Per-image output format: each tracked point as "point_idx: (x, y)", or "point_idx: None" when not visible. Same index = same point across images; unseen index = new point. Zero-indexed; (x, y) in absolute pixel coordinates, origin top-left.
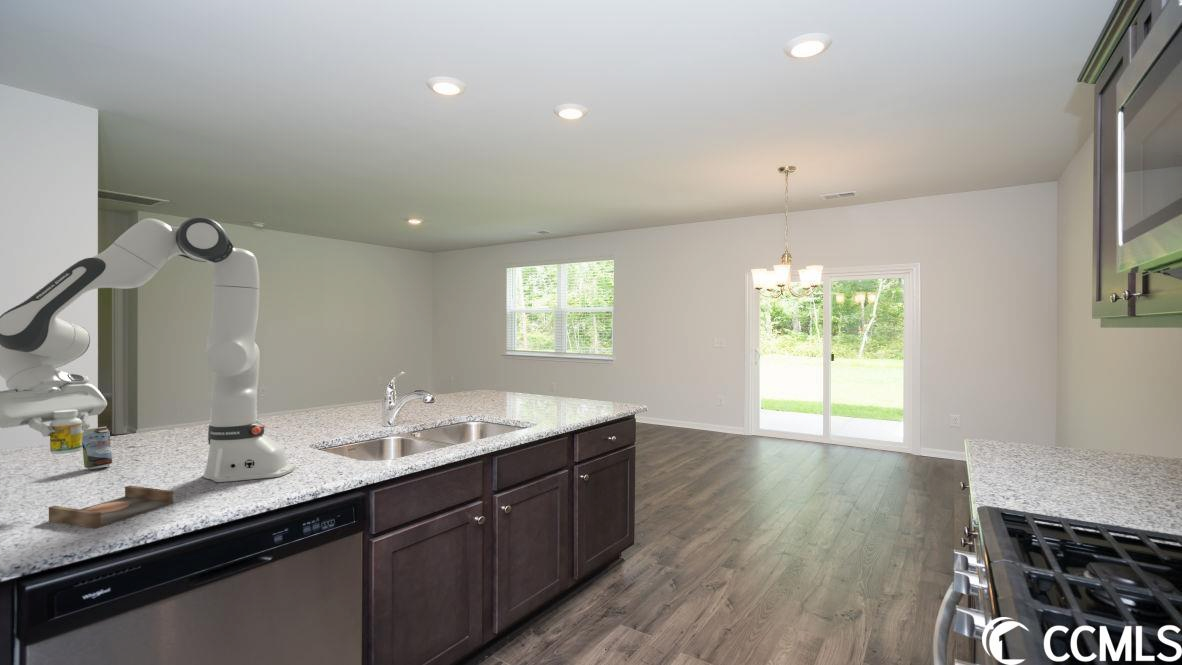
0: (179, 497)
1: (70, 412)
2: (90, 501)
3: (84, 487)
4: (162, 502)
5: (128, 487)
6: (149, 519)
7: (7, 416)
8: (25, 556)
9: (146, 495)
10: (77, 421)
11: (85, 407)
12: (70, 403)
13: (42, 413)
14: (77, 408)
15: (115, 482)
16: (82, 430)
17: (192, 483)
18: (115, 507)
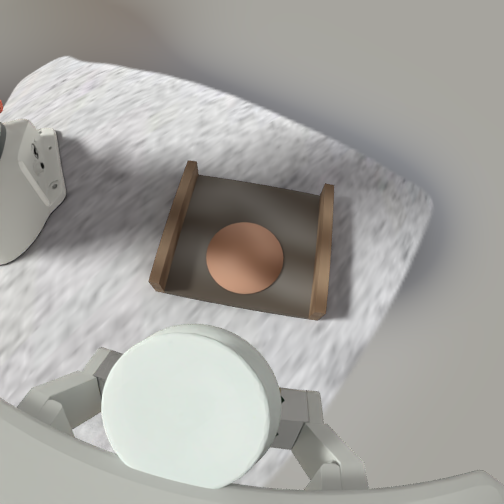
0: (152, 193)
1: (208, 338)
2: None
3: None
4: (199, 184)
5: (161, 272)
6: (272, 156)
7: (493, 480)
8: (420, 204)
9: (180, 223)
10: (184, 324)
11: (6, 407)
12: (44, 491)
13: (319, 494)
14: (50, 431)
15: None
16: None
17: (62, 240)
18: (242, 240)
